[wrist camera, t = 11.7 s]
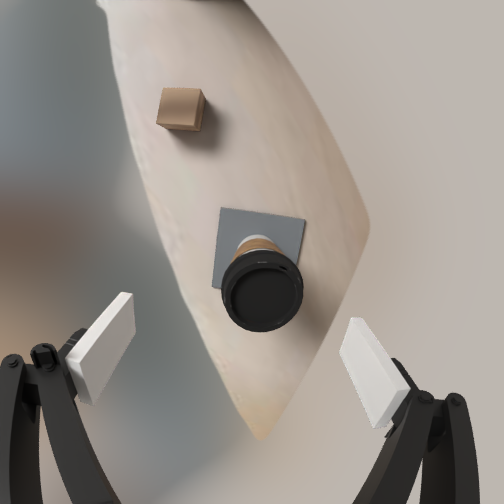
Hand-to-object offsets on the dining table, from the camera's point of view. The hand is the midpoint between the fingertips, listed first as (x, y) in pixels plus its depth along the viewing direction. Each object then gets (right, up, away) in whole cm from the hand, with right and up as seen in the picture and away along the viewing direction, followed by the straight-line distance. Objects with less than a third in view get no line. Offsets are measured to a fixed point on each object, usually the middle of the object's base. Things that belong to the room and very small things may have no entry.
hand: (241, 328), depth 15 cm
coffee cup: (+1, +4, +25) cm, 25 cm away
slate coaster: (+1, +4, +25) cm, 25 cm away
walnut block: (-9, +24, +19) cm, 32 cm away
